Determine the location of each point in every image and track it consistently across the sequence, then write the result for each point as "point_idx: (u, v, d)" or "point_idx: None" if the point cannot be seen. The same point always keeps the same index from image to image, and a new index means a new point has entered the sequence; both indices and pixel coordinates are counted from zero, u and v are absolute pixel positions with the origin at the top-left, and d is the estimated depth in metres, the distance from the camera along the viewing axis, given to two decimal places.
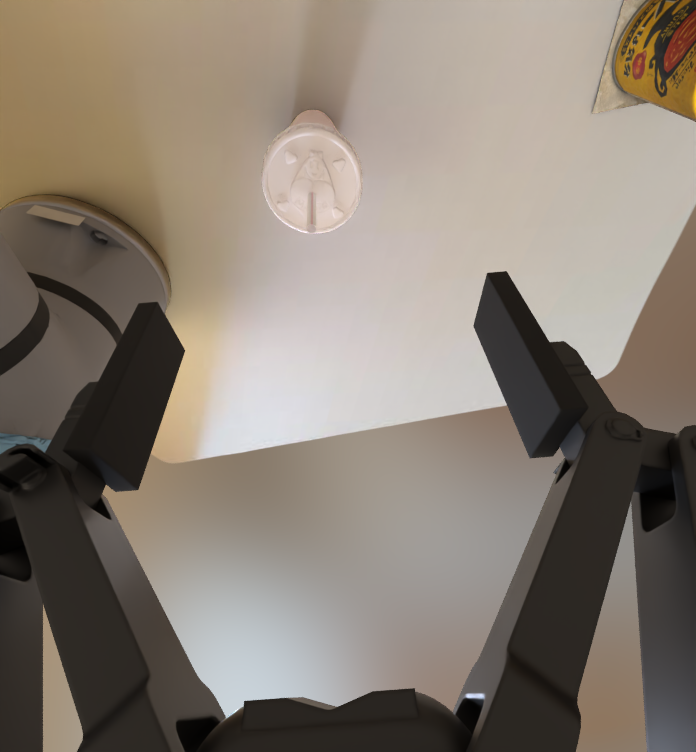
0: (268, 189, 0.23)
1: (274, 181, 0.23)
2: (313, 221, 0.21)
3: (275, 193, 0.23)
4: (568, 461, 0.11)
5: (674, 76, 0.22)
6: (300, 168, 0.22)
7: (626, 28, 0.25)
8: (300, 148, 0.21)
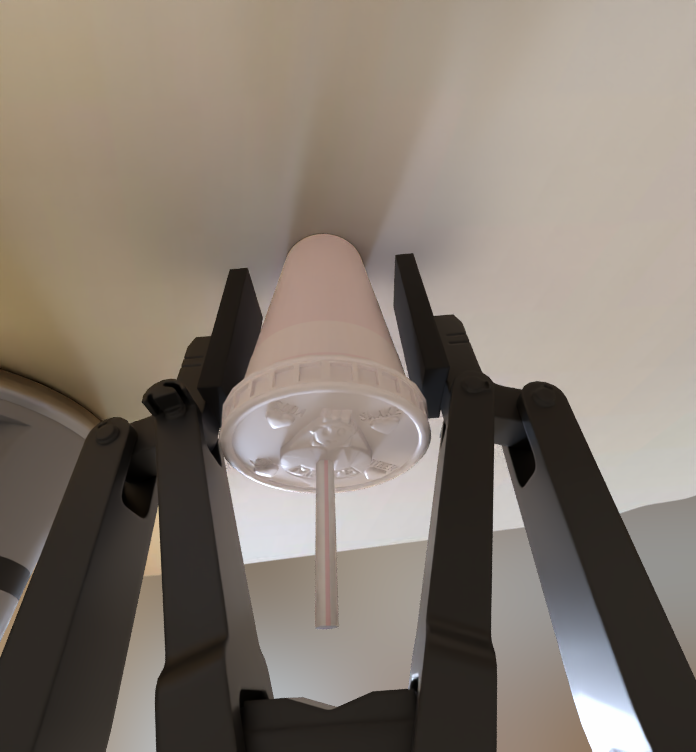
0: (235, 456, 0.11)
1: (246, 443, 0.11)
2: (332, 605, 0.09)
3: (249, 458, 0.11)
4: (446, 424, 0.12)
5: None
6: (302, 432, 0.10)
7: None
8: (301, 408, 0.09)
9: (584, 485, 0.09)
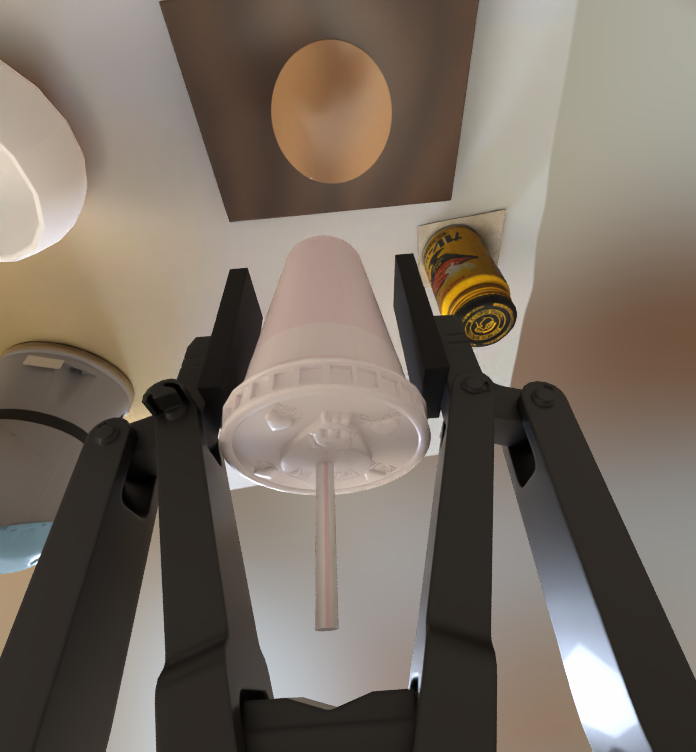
0: (235, 457, 0.11)
1: (247, 445, 0.11)
2: (332, 607, 0.09)
3: (249, 460, 0.11)
4: (446, 425, 0.12)
5: (436, 300, 0.34)
6: (302, 434, 0.10)
7: (425, 248, 0.37)
8: (300, 410, 0.09)
9: (583, 486, 0.09)
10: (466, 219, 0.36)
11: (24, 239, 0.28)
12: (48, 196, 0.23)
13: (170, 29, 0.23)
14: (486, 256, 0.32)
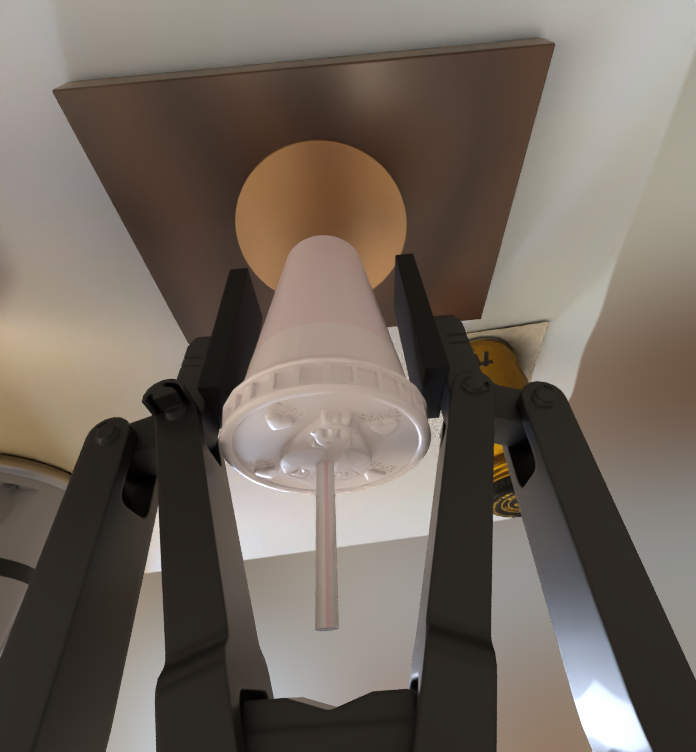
0: (235, 457, 0.11)
1: (247, 444, 0.11)
2: (332, 608, 0.09)
3: (250, 459, 0.11)
4: (446, 425, 0.12)
5: None
6: (302, 434, 0.10)
7: None
8: (301, 410, 0.09)
9: (584, 486, 0.09)
10: (497, 331, 0.28)
11: None
12: None
13: (75, 127, 0.15)
14: None
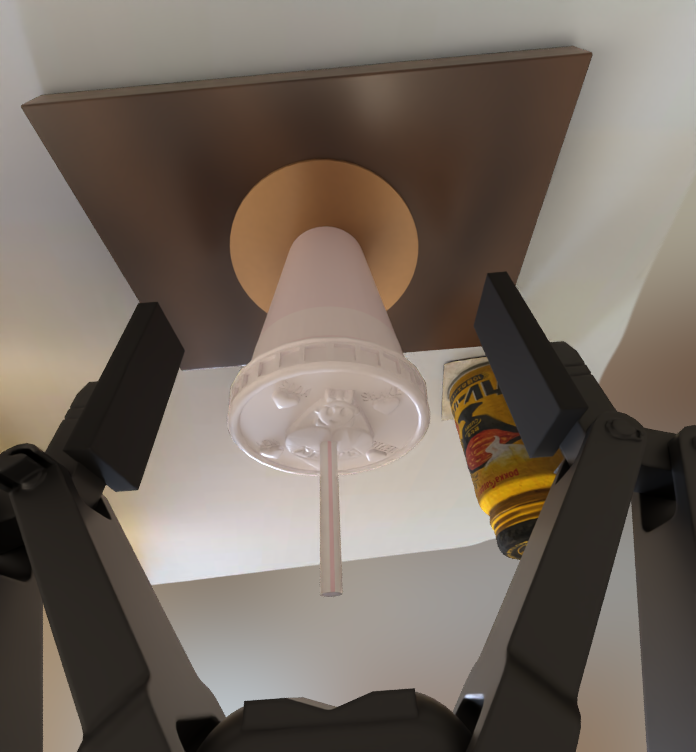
0: (242, 436, 0.12)
1: (253, 424, 0.11)
2: (336, 574, 0.09)
3: (256, 439, 0.12)
4: (568, 461, 0.11)
5: (471, 476, 0.24)
6: (306, 413, 0.11)
7: (452, 385, 0.28)
8: (306, 387, 0.10)
9: None
10: None
11: None
12: None
13: (49, 146, 0.14)
14: None
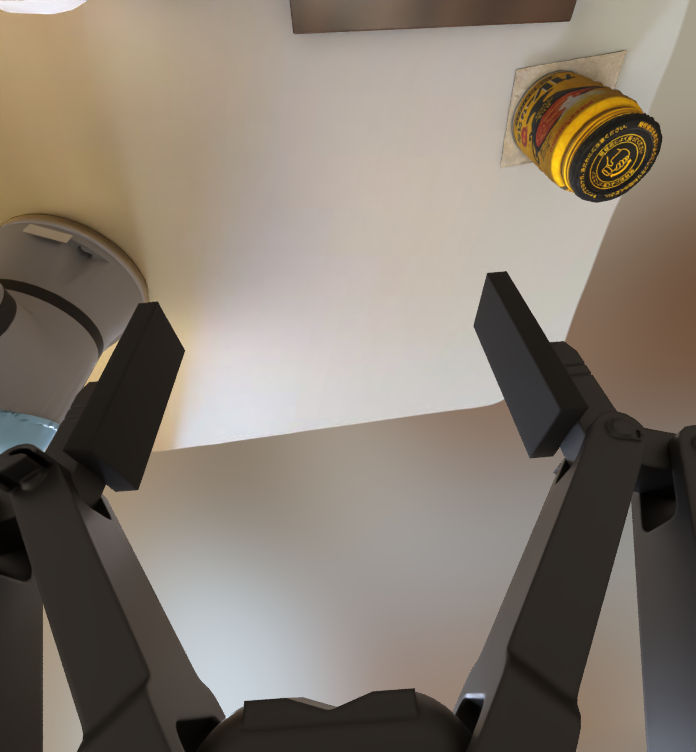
0: None
1: None
2: None
3: None
4: (569, 461, 0.11)
5: (541, 152, 0.28)
6: None
7: (519, 104, 0.31)
8: None
9: None
10: (576, 63, 0.29)
11: None
12: None
13: None
14: None
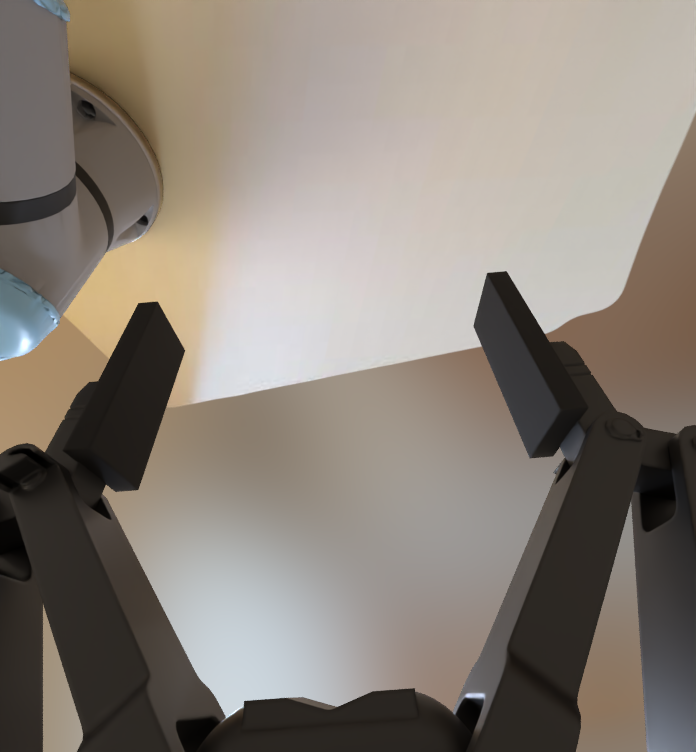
0: None
1: None
2: None
3: None
4: (569, 461, 0.11)
5: None
6: None
7: None
8: None
9: None
10: None
11: None
12: None
13: None
14: None
